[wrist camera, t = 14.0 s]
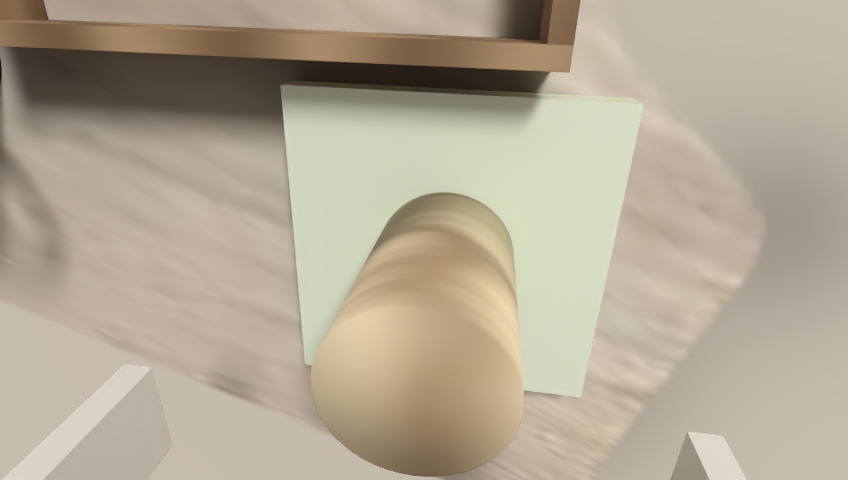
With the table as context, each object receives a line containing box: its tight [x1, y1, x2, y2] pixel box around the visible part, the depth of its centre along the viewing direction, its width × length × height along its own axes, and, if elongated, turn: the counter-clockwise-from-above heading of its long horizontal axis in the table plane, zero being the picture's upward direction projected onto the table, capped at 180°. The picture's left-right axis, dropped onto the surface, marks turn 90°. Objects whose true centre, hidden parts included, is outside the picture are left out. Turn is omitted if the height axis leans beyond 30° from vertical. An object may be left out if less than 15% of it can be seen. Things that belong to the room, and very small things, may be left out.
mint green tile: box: [280, 81, 644, 397], centre depth 22 cm, size 14×14×2 cm
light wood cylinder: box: [310, 192, 524, 477], centre depth 18 cm, size 6×6×9 cm
